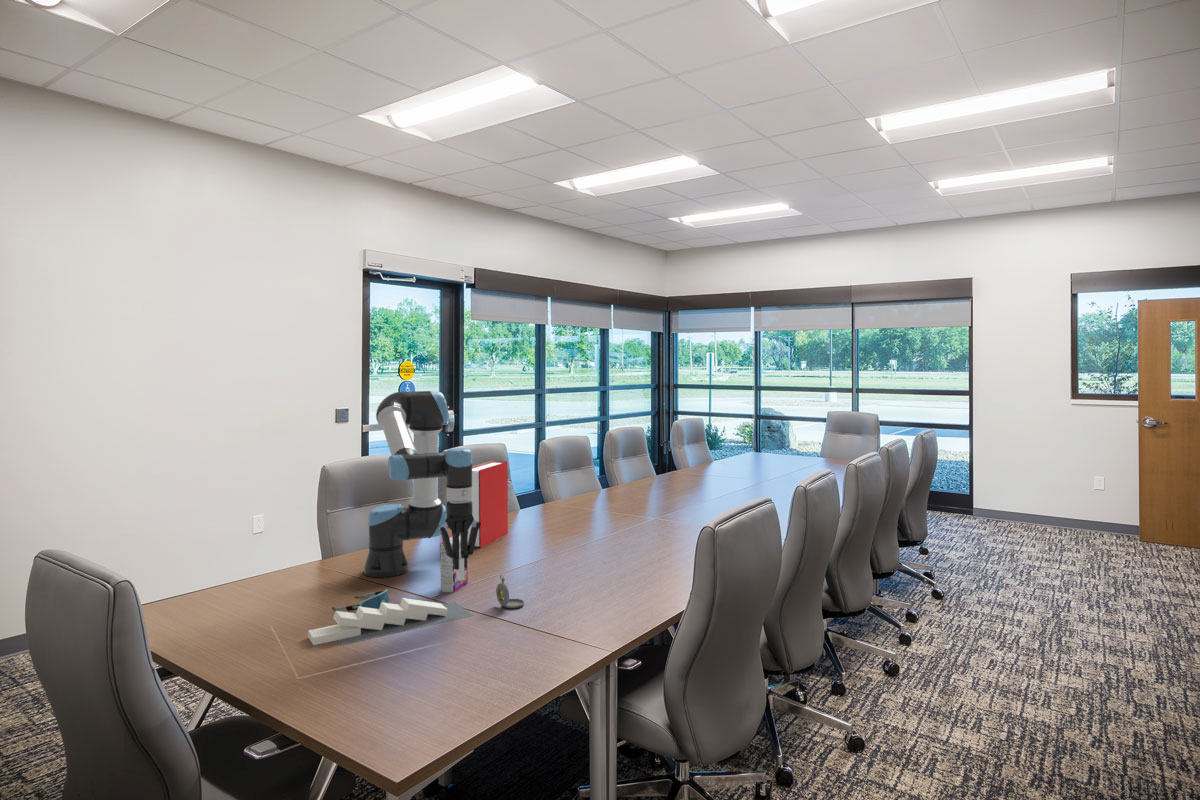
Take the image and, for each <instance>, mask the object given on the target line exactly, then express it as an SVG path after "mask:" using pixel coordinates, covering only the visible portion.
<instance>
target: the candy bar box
mask: <svg viewBox="0 0 1200 800" xmlns="http://www.w3.org/2000/svg"><path fill="white" fill-rule="evenodd" d="M449 539H450V543H451V547H452V535H451V536H449ZM439 549H440V550H439V552H440V554H439V555H440V584H441V585H440V587H441V589H440V590H441V592H444V593H456V592H457V591H458V590H459V589H461V588H462V587H464V586H466V585H467V584H468V578H469V576H468V567H467V568H464V580H462V581H459V580H457V579H456V570H455V569H454V568H453V558H450V557H448V556H447V554H446V550H445V546H444V542H443V541H442V542H440V543H439ZM460 556H461V536H459V557H460Z"/></svg>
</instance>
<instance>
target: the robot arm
mask: <svg viewBox="0 0 1200 800" xmlns="http://www.w3.org/2000/svg"><path fill="white" fill-rule="evenodd" d="M375 413H376V414H375V418H376V422H377V424H378V426H379V428H381V429H382V430H383V433H384V436H385V440H386V442H387V446H388V448H389V452H390V454H391V455H390V456H389V457H388V459H387V472H388V477H389V479H390V480H392V481H407V480H408V481H409V480H412V483H413V484H412V498H411V499H410V500H409V501H408V507H403V505H402V504H400V503H391V504H384V505H380V506H378V507H374V508H372V509H371V510H370V511H369V514H368V520H367V521H368V522H367V525H368V554H367V556H366V559H365V562H364V565H363V575H365V576H367V577H370V578H388V577H390V578H391V577H395V576H399V575H403V574H405V573H407V571H409V561H408V559H407V556H406V553H405V550H404V541H411V540H419V539H420V540H422V539H432V538H436V537H437V538H438V537H439V536H441V537H442V542H444V546H445V550H446V554H447V556H448V557H450V558H453V568H454V569H455V570H456V579H457V580H459V581H462V580H464V568H467V569H468V558H469V557H470V555H471V556H472V555H473V554H474V551H475V547H476V546H475V542H476V537H477V532H478V529H479V527H480V526H481V523H480V522H478V521H475V520H474V517H473V515H472V501H470V500H471V499H472V466H473V454H472V453H473V452H472V451H471V449H469V448H462V447H457V448H449V449H447V450H444V451H442V452H439V433H440V432H441V431H442V430H443V427H444V426H443V425H444V424H447V423H448V421H449V409H448V404H447V400H446V398H445V396H444V394H443V392H441V391H434V390H433V391H432V390H420V391H413V390H412V391H397V392H394V393H391V394H389V395H387V396H386V397H384V399H382V400H381V401H380V403H379V405H378V407H377V409H376V412H375ZM408 426H409V427H408ZM411 432H412V433H413V438H412V436H411ZM438 478H445V479H446V487H445V488H446V492H445V493H446V501H447V502H446V506H445V505H444V504H443V503H442V500H441V499H440V498H439V497H438ZM470 526H472V528H471V531H470V536H469V541H468V545H467V535H468V529H469V527H470ZM448 528H449V529H448ZM449 530H450V531H451V536H452V547H451V543H450V539H449V538H450V536H449V532H448V531H449ZM459 536H461V556H460V557H459Z"/></svg>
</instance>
